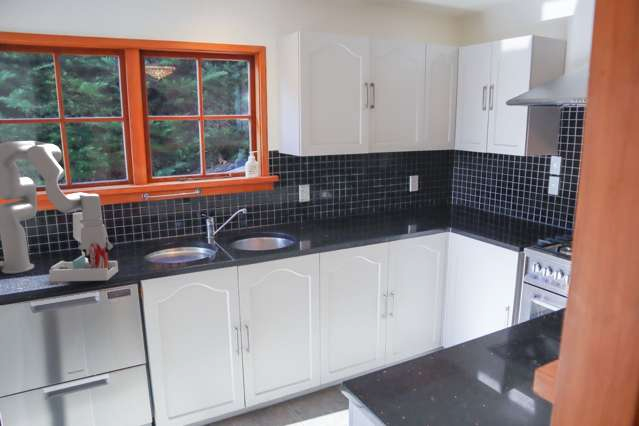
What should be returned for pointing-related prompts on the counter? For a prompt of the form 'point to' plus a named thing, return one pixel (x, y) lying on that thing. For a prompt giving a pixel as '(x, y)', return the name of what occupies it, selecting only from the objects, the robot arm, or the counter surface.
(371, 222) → the counter surface
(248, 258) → the counter surface
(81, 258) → the pusher plate
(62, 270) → the light grey tray
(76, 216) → the champagne flute
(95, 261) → the soda can
